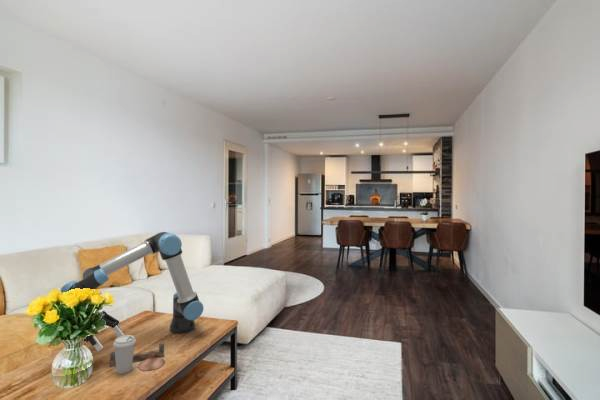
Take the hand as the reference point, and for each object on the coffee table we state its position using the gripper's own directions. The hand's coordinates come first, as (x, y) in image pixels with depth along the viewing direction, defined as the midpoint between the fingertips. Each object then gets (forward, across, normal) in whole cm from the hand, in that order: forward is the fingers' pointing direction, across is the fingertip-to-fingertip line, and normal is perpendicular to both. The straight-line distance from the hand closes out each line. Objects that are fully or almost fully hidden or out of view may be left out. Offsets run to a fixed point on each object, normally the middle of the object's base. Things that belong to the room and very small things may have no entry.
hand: (112, 343), depth 154 cm
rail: (+16, -5, -2) cm, 17 cm away
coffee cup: (+13, -1, -5) cm, 14 cm away
